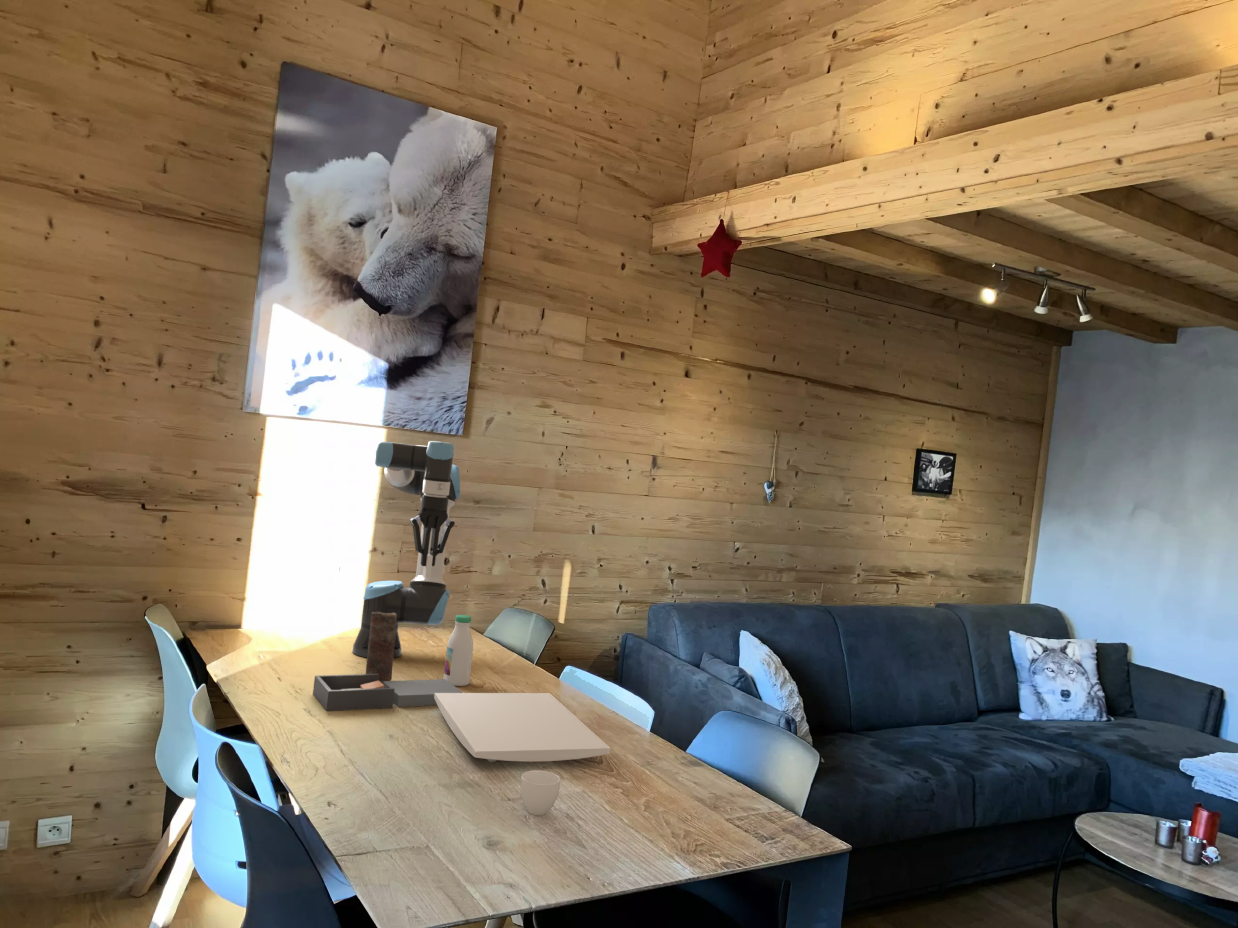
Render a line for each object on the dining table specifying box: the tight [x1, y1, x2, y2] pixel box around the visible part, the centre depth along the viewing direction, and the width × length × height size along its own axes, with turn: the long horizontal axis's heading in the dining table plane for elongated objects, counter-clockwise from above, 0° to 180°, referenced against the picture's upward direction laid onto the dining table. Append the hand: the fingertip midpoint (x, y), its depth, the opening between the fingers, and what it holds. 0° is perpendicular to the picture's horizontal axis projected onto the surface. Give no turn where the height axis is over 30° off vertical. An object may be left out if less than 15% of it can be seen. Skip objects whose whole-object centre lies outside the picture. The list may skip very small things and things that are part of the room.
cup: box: [520, 769, 561, 816], centre depth 180 cm, size 8×10×7 cm
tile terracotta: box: [360, 681, 384, 689], centre depth 240 cm, size 5×5×2 cm
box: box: [312, 673, 395, 712], centre depth 237 cm, size 15×17×5 cm
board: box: [434, 692, 611, 763], centre depth 223 cm, size 45×32×5 cm
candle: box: [365, 612, 397, 684], centre depth 259 cm, size 8×7×20 cm
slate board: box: [383, 678, 464, 708], centre depth 247 cm, size 14×18×3 cm
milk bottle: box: [443, 614, 474, 687], centre depth 266 cm, size 8×8×20 cm
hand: (426, 577), depth 257 cm, fingers closed
